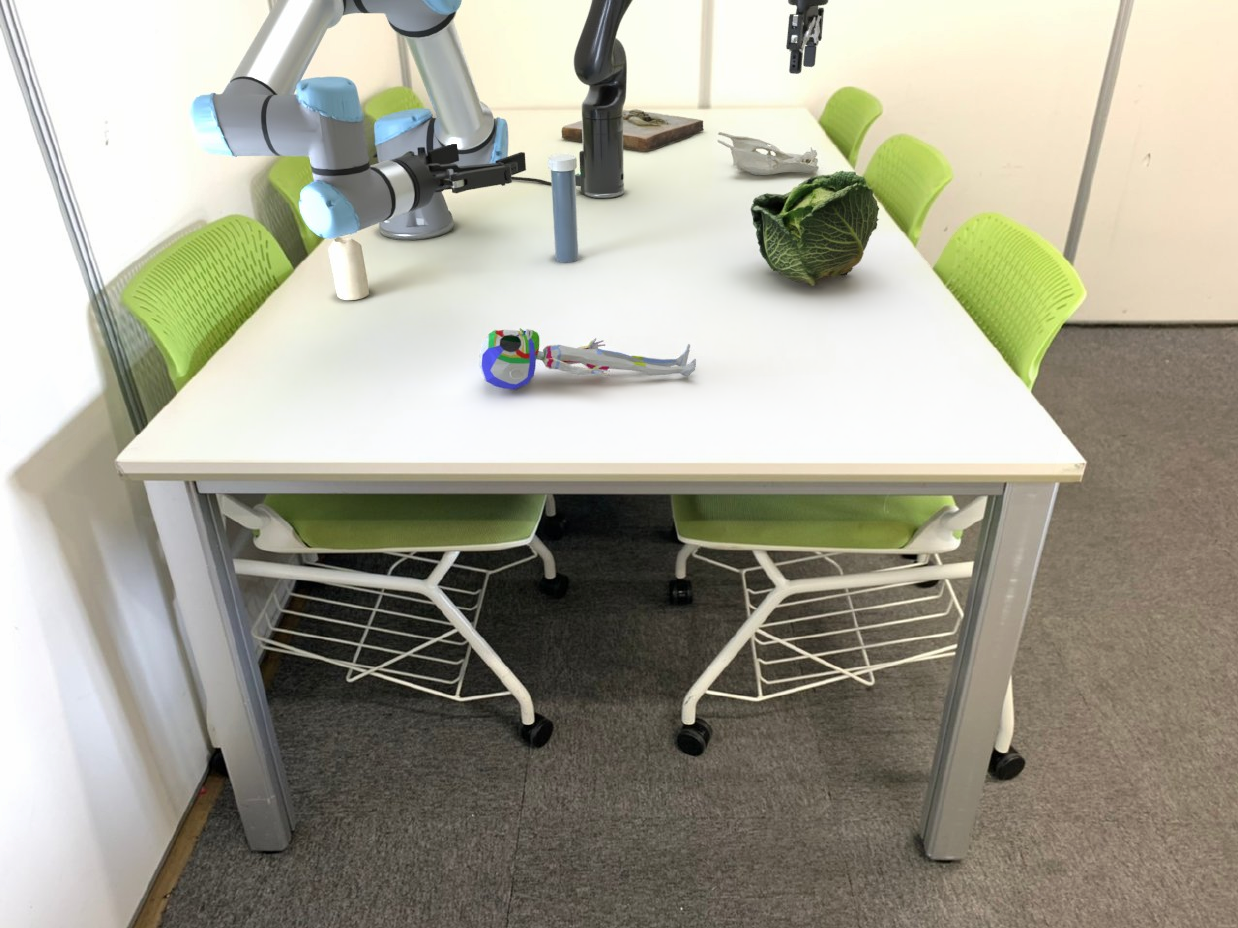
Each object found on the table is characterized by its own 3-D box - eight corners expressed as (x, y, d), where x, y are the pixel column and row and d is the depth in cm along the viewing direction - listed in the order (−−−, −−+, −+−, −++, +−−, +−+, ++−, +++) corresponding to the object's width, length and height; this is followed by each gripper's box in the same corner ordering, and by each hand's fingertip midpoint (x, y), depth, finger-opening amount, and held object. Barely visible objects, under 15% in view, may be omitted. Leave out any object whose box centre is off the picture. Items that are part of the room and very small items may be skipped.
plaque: (647, 125, 237) (559, 112, 252) (647, 153, 241) (560, 139, 256) (706, 107, 258) (622, 97, 273) (705, 133, 262) (622, 121, 277)
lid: (565, 163, 166) (565, 152, 165) (582, 168, 162) (582, 157, 161) (543, 168, 163) (542, 157, 162) (559, 173, 160) (559, 162, 159)
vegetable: (776, 302, 169) (727, 209, 161) (858, 246, 170) (814, 150, 162) (827, 317, 151) (775, 212, 143) (918, 253, 152) (872, 146, 144)
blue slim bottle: (569, 253, 174) (564, 155, 164) (583, 258, 172) (579, 159, 162) (551, 258, 172) (545, 159, 162) (564, 264, 169) (559, 164, 159)
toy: (701, 358, 123) (480, 340, 118) (690, 412, 127) (477, 397, 122) (689, 328, 131) (482, 310, 127) (679, 379, 136) (479, 364, 131)
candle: (375, 290, 158) (366, 235, 153) (358, 302, 154) (348, 245, 149) (348, 287, 160) (338, 232, 155) (330, 298, 156) (319, 242, 150)
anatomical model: (719, 128, 226) (819, 127, 222) (718, 166, 231) (817, 165, 227) (715, 142, 213) (822, 141, 210) (715, 181, 218) (819, 181, 215)
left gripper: (339, 202, 136) (432, 171, 151) (467, 225, 125) (554, 190, 140) (330, 151, 132) (427, 125, 147) (462, 170, 121) (551, 140, 136)
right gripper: (802, -27, 174) (795, 63, 182) (778, -22, 163) (771, 74, 172) (840, -26, 171) (831, 66, 179) (818, -21, 160) (809, 77, 169)
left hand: (489, 156), depth 144 cm, fingers open, 13 cm apart
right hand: (802, 70), depth 176 cm, fingers open, 8 cm apart
